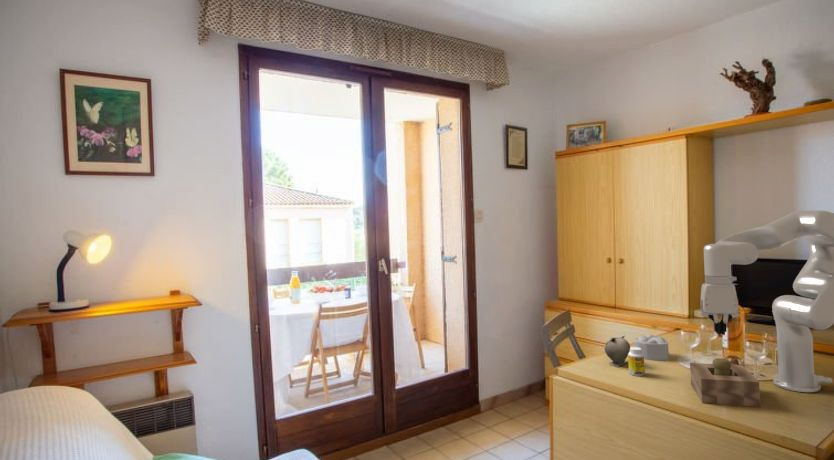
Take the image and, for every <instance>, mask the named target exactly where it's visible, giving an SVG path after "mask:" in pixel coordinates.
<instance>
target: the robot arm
mask: <svg viewBox="0 0 834 460" xmlns="http://www.w3.org/2000/svg"><path fill="white" fill-rule="evenodd" d="M803 237H805V240H806V242H807V245H808V249H809V257H808V259H807V261H806V263H805V264H804V265H803V266H802V268H801V270H799V273H798V275H796V277H795V279H794V281H793V283H792V288H793V291H794V293H796V294H798V295H800V296H797V295H794V294H791V295H790V294H784V295H781V296H778V297H776V298H775V299H774V300H773V302H772V306H771V308H772V309H771V310H772V311H771V312H772V315H773V319H774V322H775V326H776V327H775V328H776V338H777V340H776V342H777V343H776V344H777V365H778V367H777V368H778V376H775V377H774V378H773V379H772V381H773V384H774V385H775V386H777V387H779V388H782V389H784V390H788V391H793V392H797V393H798V392H799V393H817V392H819V391H821V389H822V388H821V387H822V386H821V385H822V384H829V385H831V384H833V382H834V381H833V378H832V377H825V376H824V375H817V374H815V368H814V367H815V366H814V365H815V364H814V363H815V362H814V340H813V334H812V331H811V329H815V330H827V329H828V328H830V327H831V326H833V325H834V213H833V212H830V211H828V210H798V211H793V212H791V213H789V214H786V215H783V216H782V217H780V218H778V219H776V220H774V221H772V222H769V223H767V224H765V225H762V226H757V227H754V228H751V229H748V230H743V231H740V232H737V233H733V234H731V235H728V236H726V237H724V238H722V239H720V240H718V241H717V242H716V243H709V244H706V245H704V246H703V262H704V263H703V265H704V283H702V284H701V290H700V310H701V311H700V315H701V316H702V317H704V318H709V319H710V320H711V321H712V322H713V331H714V332H715V333H716V334H717V335H718V336H720V335H722V336H725V335H726V333H727V324H728V322H729V321H730V320H731V319H734V318H739V317H740V313H739V302H738V296H737V290H736V286H735V284H734V282H736V281H737V276H733V275H732V265H751V264H753V263H755V262H756V261H757V260H758V258H759V256H760V255H759V254H760V253H759V251H762V250H773V249H778V248H781V247H784V246H785V245H787V244H790V243H792V242H794V241H795V240H799V239H801V238H803ZM718 315H721V317H720V318H721V319H720V320H719V317H718Z"/></svg>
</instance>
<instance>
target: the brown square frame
mask: <svg viewBox="0 0 834 460" xmlns="http://www.w3.org/2000/svg"><path fill="white" fill-rule="evenodd" d="M689 368H690V370H689V372H690V385H691V387H692V388H693V390H694V392H695V393H696V395H697V397H698V398H699V399H700V402H701V403H702V404H717V405H731V406H742V407H743V406H744V407H758V408H761V395H760V392H761V390H760V381H759V380H758V379H757V378H756V377H755V376H754V375H753V374H752V373H751V372H750V371H748V370H747V368H746V367H744V365H742V364H731V368H730V369H729V372H730V376H722V375H714V370H715V368H714V367H713V363H704V362H703V363H702V362H701V363H699V362H689Z"/></svg>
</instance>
